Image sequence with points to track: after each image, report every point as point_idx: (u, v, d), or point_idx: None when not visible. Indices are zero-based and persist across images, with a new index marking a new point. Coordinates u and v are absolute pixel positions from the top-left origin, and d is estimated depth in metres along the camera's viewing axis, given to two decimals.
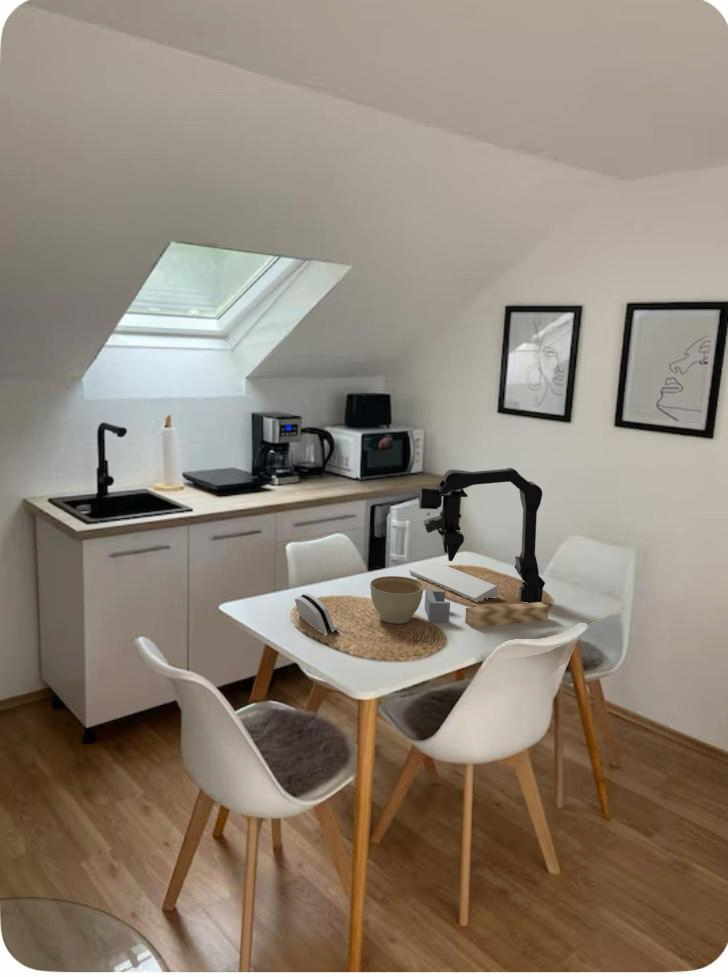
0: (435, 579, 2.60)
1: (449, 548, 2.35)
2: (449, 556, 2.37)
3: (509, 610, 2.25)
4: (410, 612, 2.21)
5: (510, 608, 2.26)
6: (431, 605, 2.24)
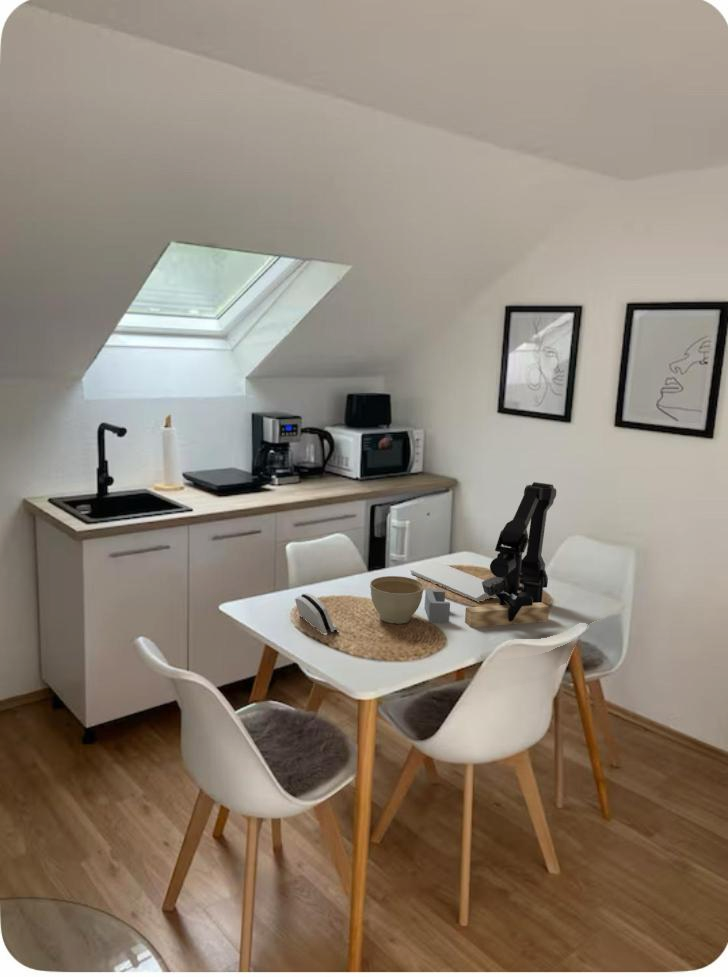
0: (436, 579, 2.60)
1: (511, 608, 2.23)
2: (510, 616, 2.25)
3: None
4: (410, 612, 2.21)
5: None
6: (431, 605, 2.24)
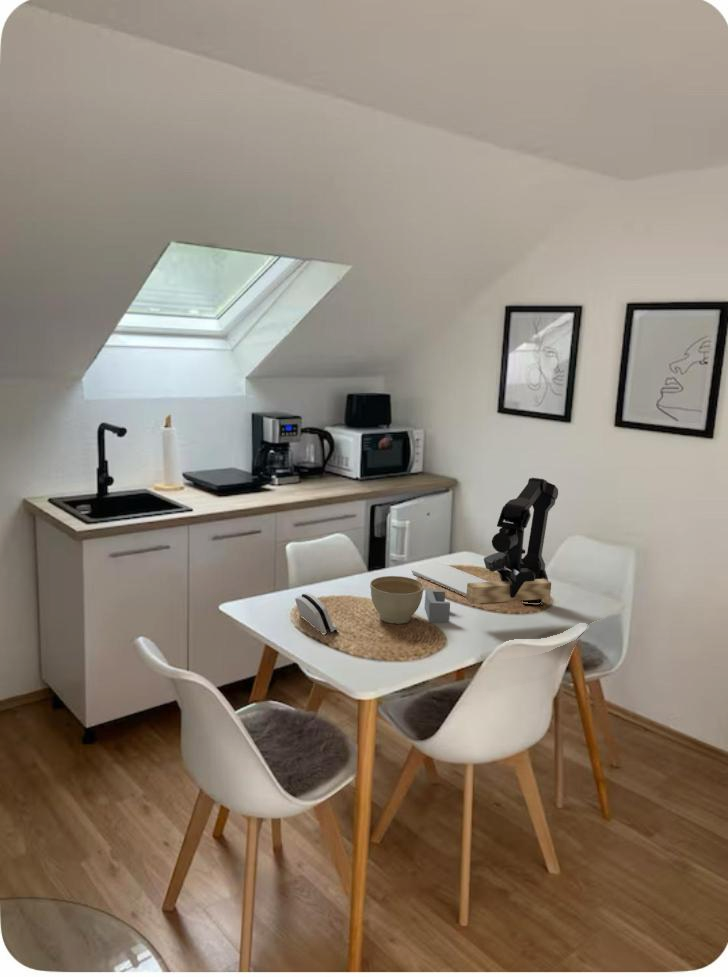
0: (437, 579, 2.60)
1: (513, 584, 2.22)
2: (512, 592, 2.23)
3: None
4: (410, 612, 2.21)
5: None
6: (431, 605, 2.24)
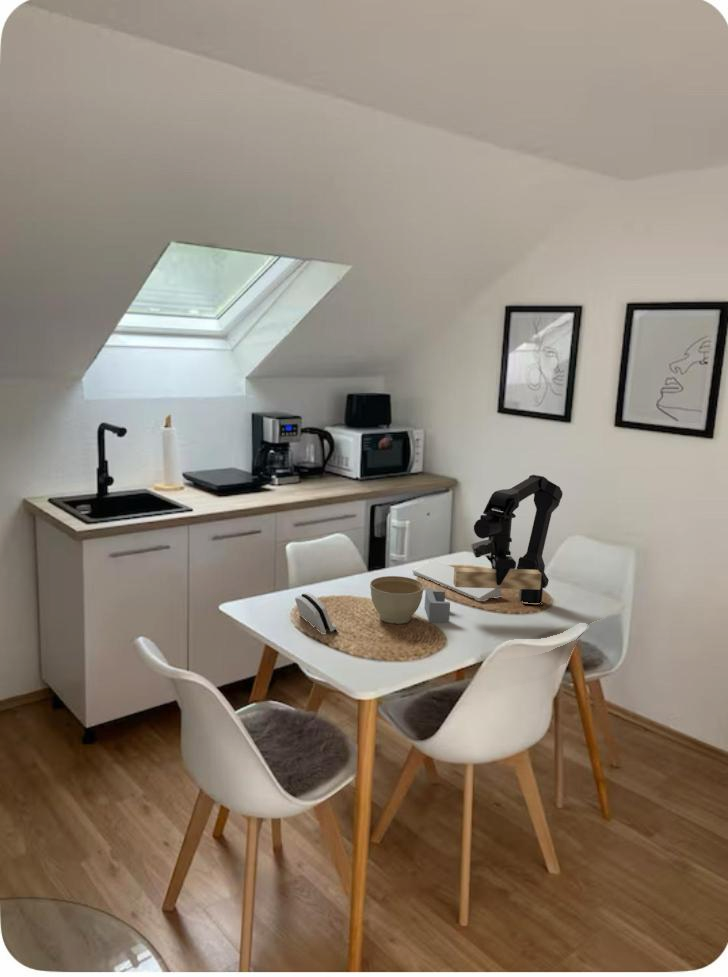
0: (439, 579, 2.60)
1: (497, 571, 2.25)
2: (497, 580, 2.27)
3: None
4: (410, 612, 2.21)
5: None
6: (431, 605, 2.24)
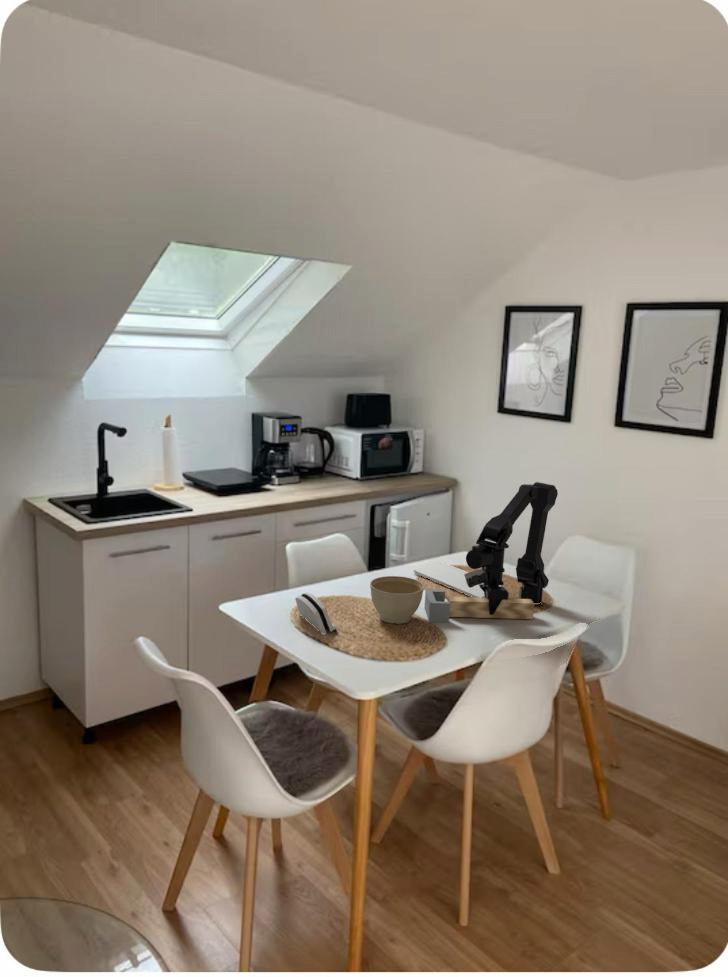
0: (440, 579, 2.60)
1: (490, 601, 2.27)
2: (490, 610, 2.28)
3: None
4: (410, 612, 2.21)
5: None
6: (431, 605, 2.24)
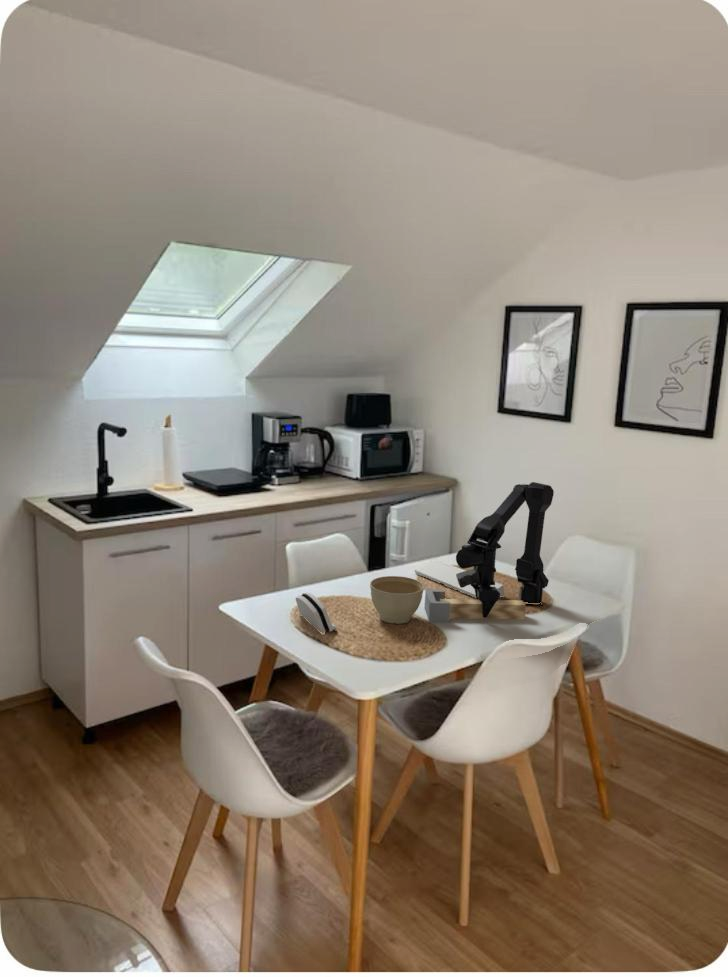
0: (441, 579, 2.60)
1: (483, 604, 2.25)
2: (483, 612, 2.26)
3: None
4: (410, 612, 2.21)
5: None
6: (431, 605, 2.24)
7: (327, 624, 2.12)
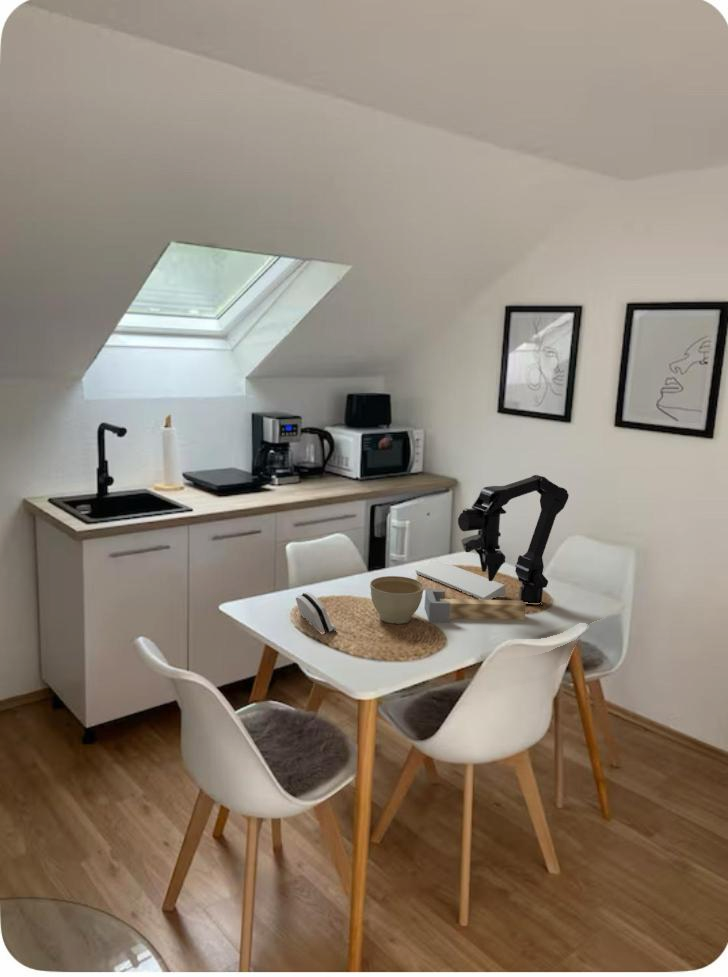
0: (442, 579, 2.60)
1: (489, 567, 2.29)
2: (489, 576, 2.30)
3: (482, 605, 2.29)
4: (410, 612, 2.21)
5: (483, 603, 2.30)
6: (431, 605, 2.24)
7: (326, 624, 2.12)
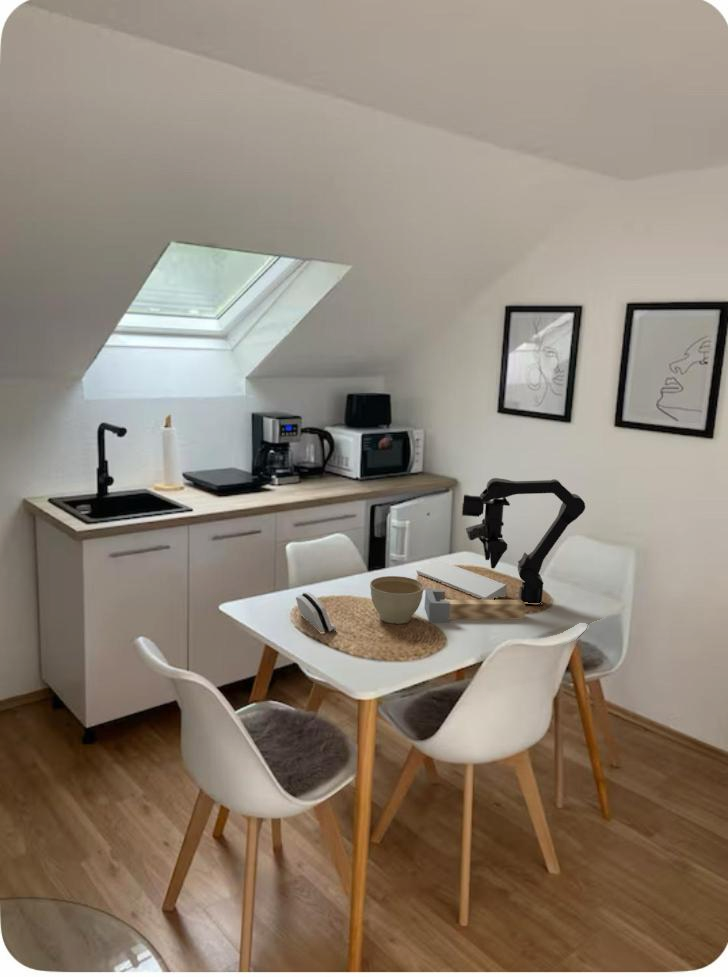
0: (443, 579, 2.61)
1: (492, 555, 2.38)
2: (492, 563, 2.40)
3: (482, 605, 2.29)
4: (410, 612, 2.21)
5: (484, 603, 2.30)
6: (431, 605, 2.24)
7: (326, 624, 2.12)
